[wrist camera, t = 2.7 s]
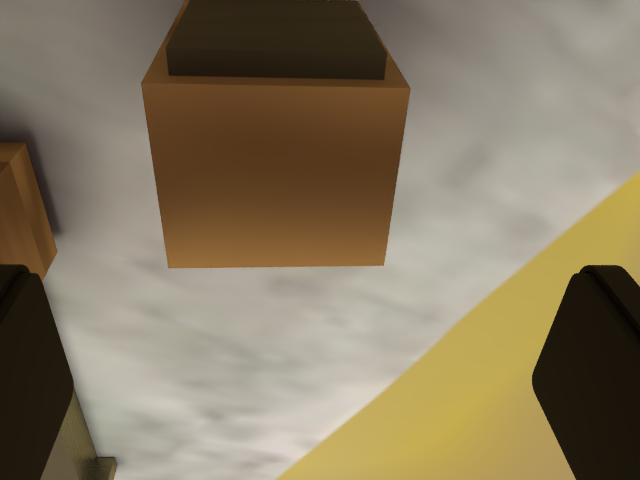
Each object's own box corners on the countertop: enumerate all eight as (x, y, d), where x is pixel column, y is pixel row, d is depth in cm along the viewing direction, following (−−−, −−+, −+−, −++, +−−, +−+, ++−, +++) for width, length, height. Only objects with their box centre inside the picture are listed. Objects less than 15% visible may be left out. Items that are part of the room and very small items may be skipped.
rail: (-182, -34, 17) (-262, -13, 14) (-33, -29, 17) (-85, -8, 15) (43, 469, 33) (24, 522, 31) (116, 466, 34) (104, 517, 31)
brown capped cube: (186, -24, 18) (136, 54, 11) (359, -18, 18) (414, 60, 12) (200, 132, 21) (168, 268, 14) (346, 134, 22) (383, 265, 15)
